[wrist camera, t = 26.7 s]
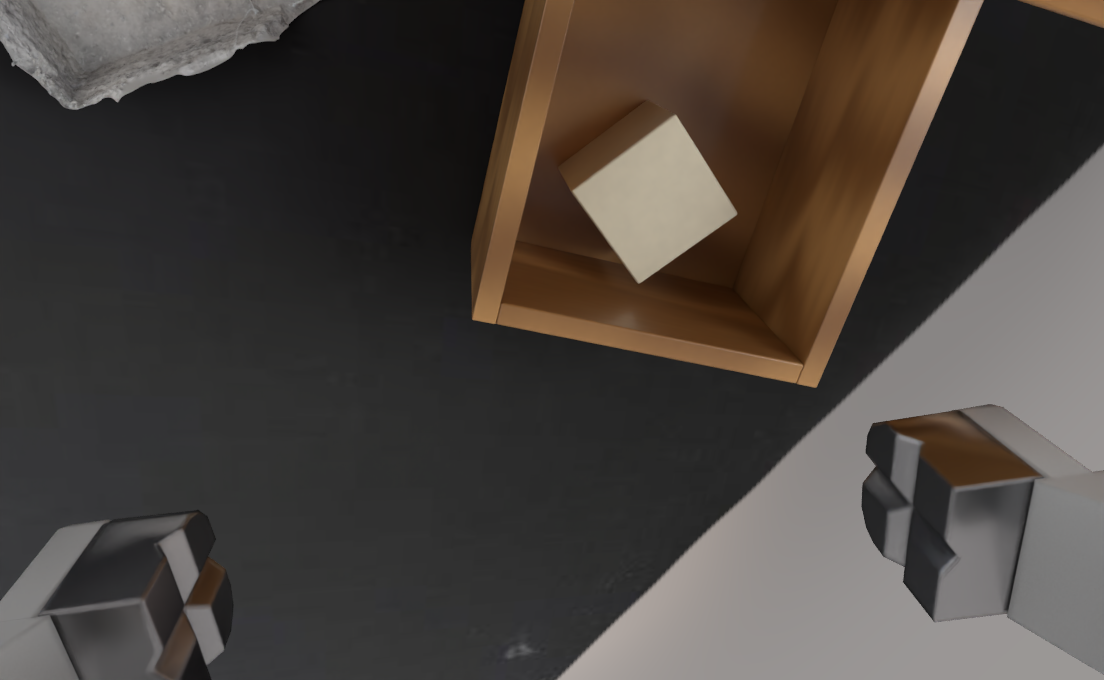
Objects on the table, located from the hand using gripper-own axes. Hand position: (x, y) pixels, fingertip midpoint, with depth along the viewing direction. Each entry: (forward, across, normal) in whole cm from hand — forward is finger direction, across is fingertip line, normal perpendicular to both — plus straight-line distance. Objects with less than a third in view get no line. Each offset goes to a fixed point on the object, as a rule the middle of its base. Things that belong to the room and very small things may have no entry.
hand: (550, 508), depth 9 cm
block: (+23, -6, +1) cm, 24 cm away
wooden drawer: (+24, -7, -2) cm, 25 cm away
